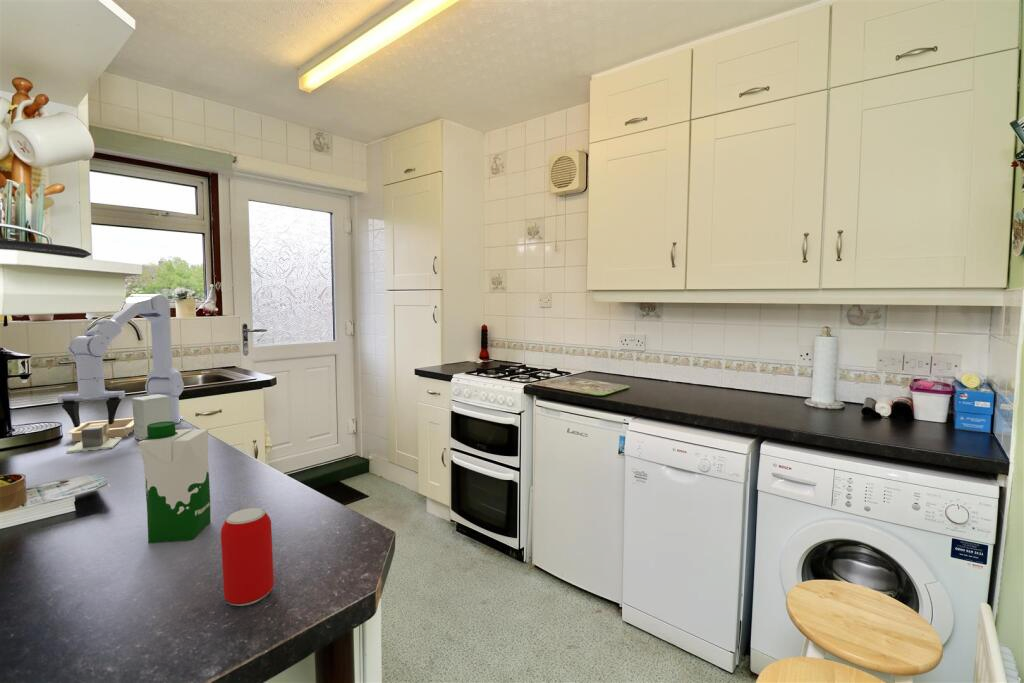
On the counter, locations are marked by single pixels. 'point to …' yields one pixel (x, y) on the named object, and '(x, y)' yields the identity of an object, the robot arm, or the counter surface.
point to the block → (95, 435)
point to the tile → (107, 444)
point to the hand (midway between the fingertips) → (94, 425)
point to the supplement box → (149, 412)
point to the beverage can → (247, 556)
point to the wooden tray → (115, 430)
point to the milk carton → (176, 482)
